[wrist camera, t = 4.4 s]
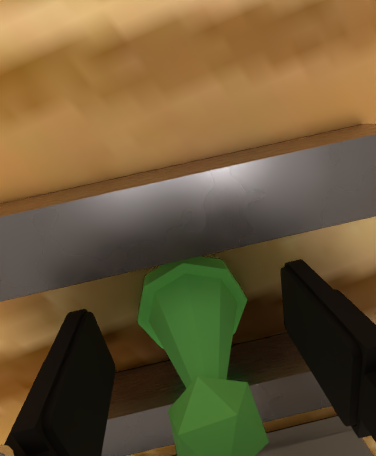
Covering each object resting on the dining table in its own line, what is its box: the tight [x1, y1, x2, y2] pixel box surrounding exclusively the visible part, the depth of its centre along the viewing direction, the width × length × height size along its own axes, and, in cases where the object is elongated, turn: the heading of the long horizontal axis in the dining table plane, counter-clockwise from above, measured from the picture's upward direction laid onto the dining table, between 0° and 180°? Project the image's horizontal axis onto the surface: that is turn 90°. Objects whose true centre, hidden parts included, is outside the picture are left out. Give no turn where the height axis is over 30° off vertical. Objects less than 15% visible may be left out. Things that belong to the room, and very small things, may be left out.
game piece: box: [137, 256, 269, 456], centre depth 8 cm, size 4×4×6 cm
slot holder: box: [0, 124, 376, 456], centre depth 10 cm, size 14×11×2 cm
